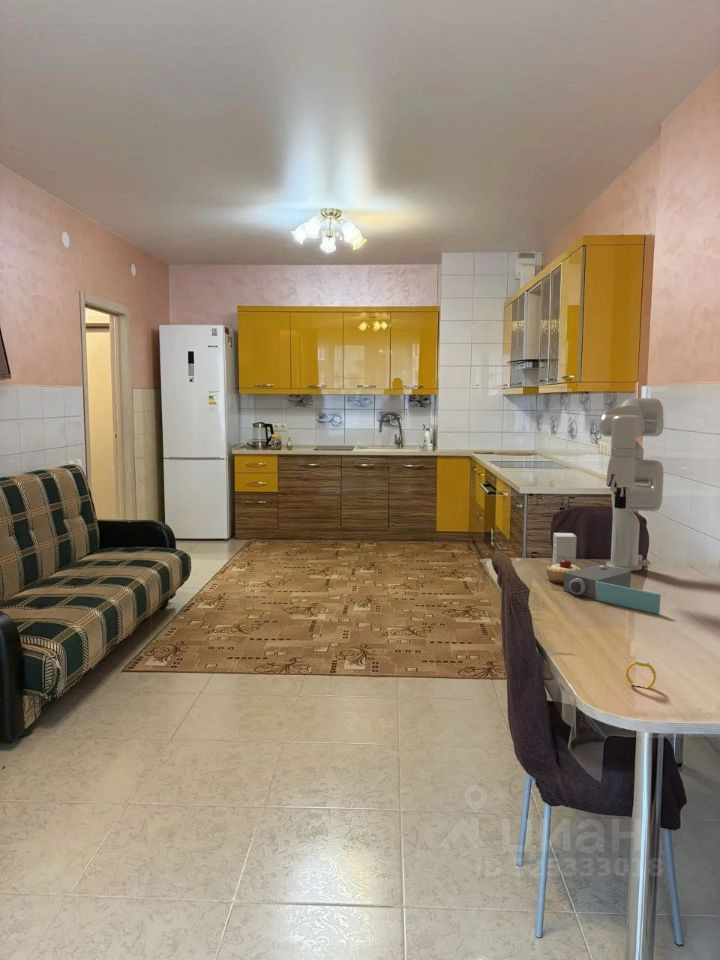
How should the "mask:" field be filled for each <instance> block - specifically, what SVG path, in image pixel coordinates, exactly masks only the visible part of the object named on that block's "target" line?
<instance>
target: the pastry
mask: <svg viewBox="0 0 720 960" xmlns="http://www.w3.org/2000/svg"><path fill="white" fill-rule="evenodd" d="M559 557H563V556H559ZM559 557H558V558H559ZM563 558H564V557H563ZM564 559H565V558H564ZM579 569H582V568H581V567H580V566H578V565H576V566H575V565H571V562H570V561H569V560H566V559H565V561H560V562H559V563H558V564H553V563H552V564H549V565H547V567H546V575H547V577H548V579H549V581H550V582H552V583H555V584H560V583H562V584H561V585H564V573H567V572H571V571H575V570H579Z"/></svg>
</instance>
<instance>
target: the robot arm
mask: <svg viewBox="0 0 720 960" xmlns="http://www.w3.org/2000/svg"><path fill="white" fill-rule="evenodd" d="M664 420H665V419H664V408H663V404H662V402H661V400H659V399H658V398H654V397H652V398H651V397H650V398H648V397H647V398H645V397H643V398H641V397H639V398H638V397H637V398H635V397H633V398H628V399H626V400H623V402H622V403H621V405H620V406H618V407H615V408H610V409H607V410H606V411H604V412H603V413H602V415H601V417H600V420H599V424H598V425H599V426H598V428H599V432H600V435H602V436H603V437H611V438H610V439H611V441H610V457H609V460H608V465H607V471H606V483H605V484H606V486H607V487H608V488H610V492H611V495H610V496H611V506H612V530H611V544H610V545H611V546H610V549H611V550H610V560H609V561H607V562H606V564H605V566H608V567H613V568H617V569H622V570H627V571H631V572H634V571H635V572H636V571H641V570H642V568H643V566H642V565H641V564H640V563H639V561H641V560H643V555H642V554H639V545H640V544H639V543H640V541H639V540H640V526H641V525H640V521H639V518H638V517H637V515H636V514H635V512H636V511H639V512H657V511H659V510H660V509H661V508H662V502H663V491H664V473H665V472H664V466H663V464H662V462H660V461H658V460H655V459H644V454H645V453H644V452H645V450H644V448H643V446H642V445H641V443H640V442H639V441H638V440H637V437H659V436H660V435H661V434H663V430H664V424H665V423H664ZM633 511H635V512H633Z"/></svg>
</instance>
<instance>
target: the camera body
mask: <svg viewBox="0 0 720 960" xmlns="http://www.w3.org/2000/svg"><path fill="white" fill-rule="evenodd" d="M631 579H632V571H627V570H622V569H617V568H613V567H608V566H606V565H602V564H596V565H591V566H589V567H583V568H581V569H579V570H575V571H571V572H567V573H564V584H563V591H564V592H566V591H567V593H570V592H571V594H574V595H576V596H582V595H583V596H582V597H586V596H587V597H586V598H590V597H591V599H593V598H595V592H596V581H599V582H604V583H609V584H614V585H618V586H623V587H628V588H631V583H632V582H631Z"/></svg>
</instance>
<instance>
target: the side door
mask: <svg viewBox="0 0 720 960" xmlns="http://www.w3.org/2000/svg"><path fill="white" fill-rule="evenodd" d="M594 600H595V601H600V602H603V603H608V604H613V605H615V606H616V605H617V606H620V607H625V608H629V609H634V610H639V611H644V612H647V613H652V614H657V615H659V614H660V613H661V611H660V610H661V593H658V592H657V593H656V592H651V591H646V590H642V589H637V588H633V587H630V588H628V587H623V586H618V585H614V584H609V583H604V582H599V581H596V592H595V599H594Z"/></svg>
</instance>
